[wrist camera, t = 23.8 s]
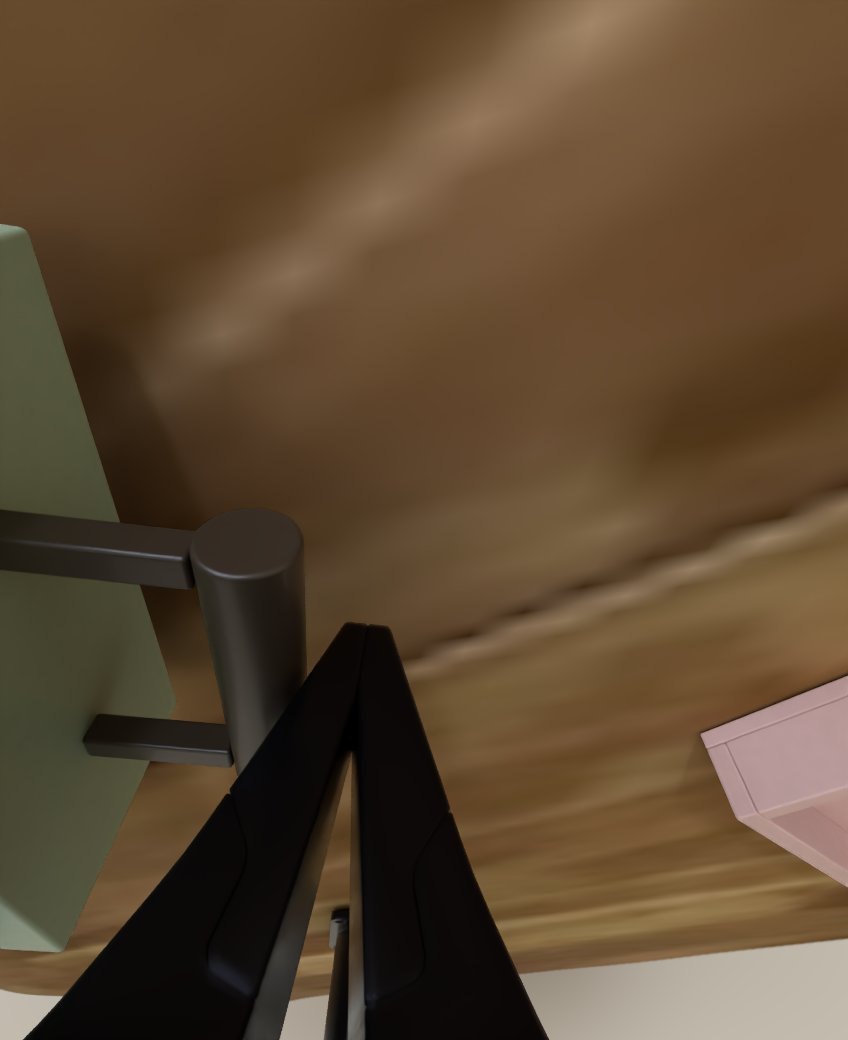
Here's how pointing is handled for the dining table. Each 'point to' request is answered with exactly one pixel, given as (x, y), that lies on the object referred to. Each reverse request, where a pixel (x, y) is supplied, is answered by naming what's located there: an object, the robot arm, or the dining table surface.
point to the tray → (791, 774)
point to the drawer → (107, 629)
